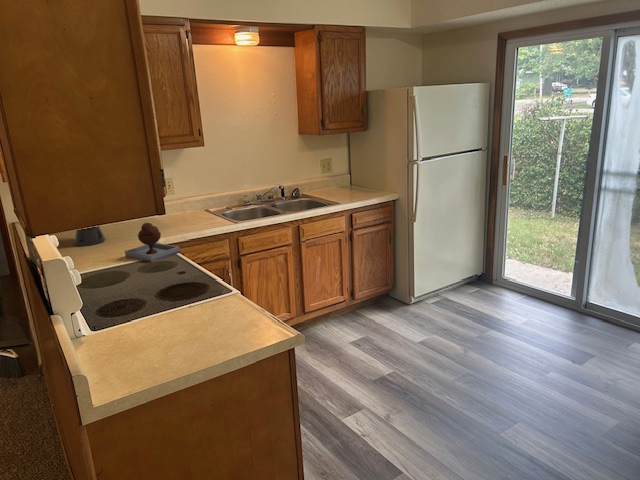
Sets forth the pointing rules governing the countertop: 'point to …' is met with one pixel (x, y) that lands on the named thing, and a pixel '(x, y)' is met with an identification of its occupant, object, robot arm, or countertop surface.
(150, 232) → the ice cream bowl
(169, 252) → the serving tray
